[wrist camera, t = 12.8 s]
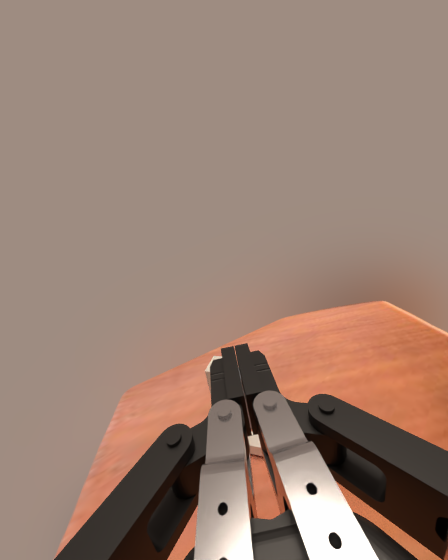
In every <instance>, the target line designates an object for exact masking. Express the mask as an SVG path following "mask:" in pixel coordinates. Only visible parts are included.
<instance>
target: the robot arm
mask: <svg viewBox="0 0 448 560" xmlns="http://www.w3.org/2000/svg"><path fill="white" fill-rule="evenodd" d="M235 351H236V355H235ZM221 353H222V358H220V359H215V360H213V362H212V364H211V366H210V381H211V404H212V406H211V409H210V411H209V414H208V416H207V418H206V419H205V420H204V421H202V422H201V423H199V424H198V425H196V426H194V427H192V428H189V427H188V426H187V425H184V424H175V425H172V426H170V427H168V428H167V429H166V430H165V431H164V432H163V433H162V434H161V435H160V436H159V437H158V438H157V440H156V441H155V442H154V443H153V444H152V445H151V447H150V448H149V449H148V450H147V451H146V452H145V454H144V455H143V456H142V457H141V458H140V460H139V461H138V462H137V463H136V464H135V465H134V467H133V468H132V469H131V470H130V471H129V472H128V474H127V475H126V476H125V477H124V478H123V479H122V481H121V482H120V483H119V484H118V485H117V486H116V488H115V489H114V490H113V491H112V492H111V494H110V495H109V496H108V497H107V498H106V499H105V501H104V502H103V503H102V504H101V505H100V506H99V508H98V509H97V510H96V511H95V512H94V513H93V515H92V516H91V517H90V518H89V519H88V520H87V522H86V523H85V524H84V525H83V526H82V528H81V529H80V530H79V531H78V532H77V533H76V535H75V536H74V537H73V538H72V539H71V540H70V542H69V543H68V544H67V545H66V546H65V547H64V549H63V550H62V551H61V552H60V553H59V554H58V556H57V557H56V558H55V559H54V560H167V559H168V557H169V555H170V553H171V551H172V550H173V548H174V546H175V544H176V543H177V541H178V539H179V537H180V535H181V534H182V532H183V530H184V528H185V527H186V525H187V523H188V521H189V520H190V518H191V516H192V514H193V512H194V511H195V509H196V507H197V505H198V512H197V526H196V539H195V547H194V548H193V549H192V550H191V551H190V552H189V553H188V555H187V556H186V557H185V559H184V560H418V559H417V558H415V557H414V556H413V555H412V554H411V553H409V552H408V551H407V550H406V549H404V548H403V547H402V546H401V545H400V544H398V543H397V542H396V541H395V540H393V539H392V538H391V537H390V536H389V535H387V534H386V533H385V532H384V531H382V530H381V529H380V528H379V527H377V526H376V525H375V524H373V523H372V522H370V521H369V520H367V519H366V518H364V517H362V516H360V515H358V514H357V513H354V512H352V511H351V509H350V507H349V505H348V503H347V501H346V500H345V498H344V496H343V494H342V492H341V491H340V489H339V487H338V485H337V483H336V482H335V481H337V482H338V483H339V484H341V485H342V486H343V487H345V488H346V489H347V490H349V491H350V492H351V493H353V494H354V495H356V496H357V497H358V498H360V499H361V500H362V501H364V502H365V503H366V504H368V505H369V506H370V507H372V508H373V509H375V510H376V511H377V512H379V513H380V514H381V515H383V516H384V517H385V518H387V519H388V520H389V521H391V522H392V523H393V524H395V525H396V526H398V527H399V528H400V529H402V530H403V531H404V532H406V533H407V534H408V535H410V536H411V537H412V538H414V539H415V540H417V541H418V542H419V543H421V544H422V545H423V546H425V547H426V548H427V549H429V550H430V551H431V552H433V553H434V554H436V555H437V556H438V557H440V558H441V559H442V560H448V451H446V450H444V449H442V448H440V447H438V446H436V445H434V444H431V443H429V442H427V441H425V440H423V439H421V438H419V437H417V436H415V435H413V434H411V433H409V432H406V431H404V430H402V429H400V428H398V427H396V426H394V425H392V424H390V423H388V422H386V421H384V420H382V419H379V418H377V417H375V416H373V415H371V414H369V413H367V412H365V411H363V410H361V409H359V408H357V407H355V406H352V405H350V404H348V403H346V402H344V401H342V400H340V399H338V398H336V397H334V396H331V395H328V394H318V395H315V396H313V397H312V398H311V399H310V400H309V402H308V403H299V402H293V401H290V400H288V399H286V398H285V397H284V396H283V395H281V393H280V392H279V389H278V387H277V385H276V382H275V380H274V377H273V375H272V372H271V370H270V368H269V365H268V363H267V360H266V358H265V355H263V354H262V353H261V352H260V351H259V350H258V351H254V352H250V350H249V347H248V344H247V343H246V344H241V345H236V346H235V350H234V346H232V347H227V348H222V349H221ZM236 356H237V360H236ZM237 361H238V364H237ZM238 366H239V369H238ZM239 371H240V373H239ZM240 376H241V378H240ZM241 381H242V383H241ZM242 386H243V387H242ZM243 390H244V392H243ZM244 395H245V396H244ZM245 399H246V402H245ZM246 404H247V407H246ZM247 408H248V412H247ZM248 413H249V417H250V422H251V426H252V431H253V435H257V434H258V436H259V441H260V445H261V451H262V455H263V458H264V461H265V464H266V467H267V471H268V474H269V477H270V480H271V483H272V486H273V490H274V493H275V496H276V499H277V503H278V506H279V510H280V515H279V516H277V517H276V518H274V519H271V520H267V519H258V517H257V511H256V503H255V494H254V486H253V477H252V468H251V460H250V445H249V440H248V436H252V433H251V428H250V423H249V417H248Z"/></svg>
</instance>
